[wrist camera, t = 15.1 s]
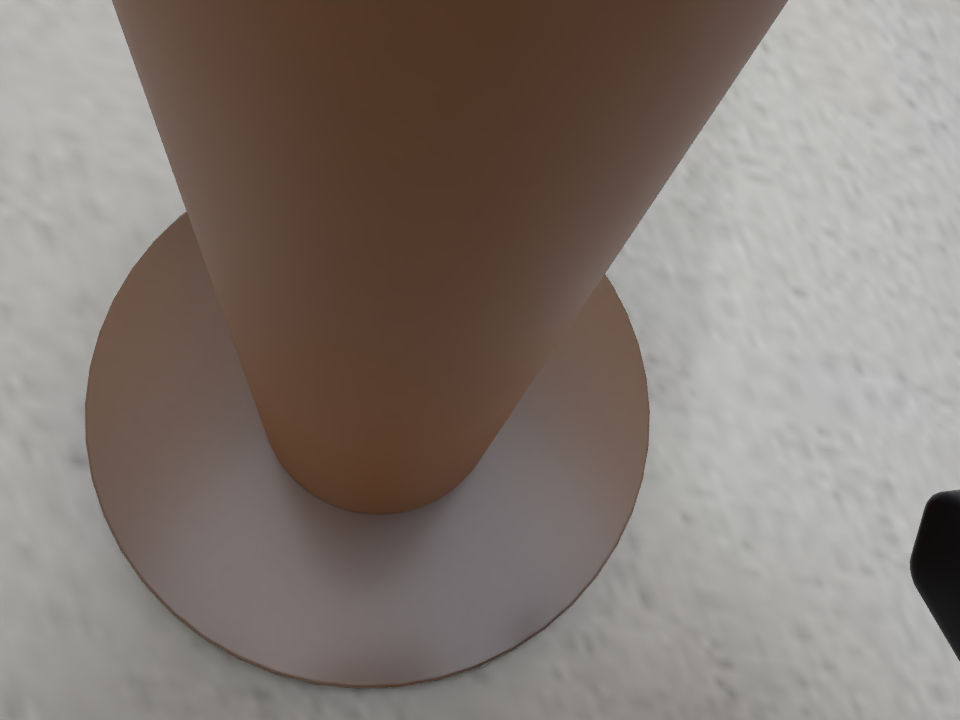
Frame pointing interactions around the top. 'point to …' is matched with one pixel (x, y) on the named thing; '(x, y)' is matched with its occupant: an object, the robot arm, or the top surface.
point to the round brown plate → (344, 533)
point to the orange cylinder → (418, 199)
